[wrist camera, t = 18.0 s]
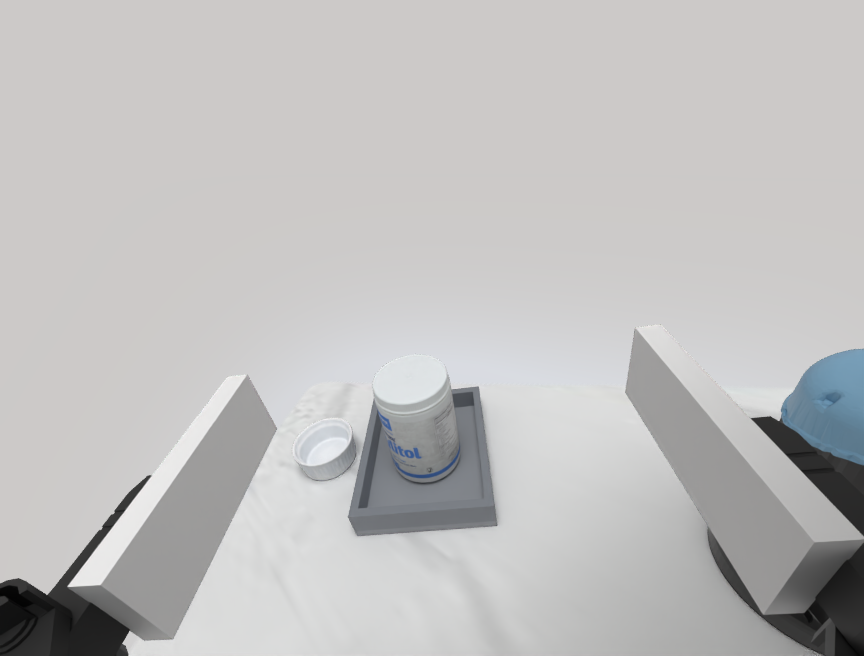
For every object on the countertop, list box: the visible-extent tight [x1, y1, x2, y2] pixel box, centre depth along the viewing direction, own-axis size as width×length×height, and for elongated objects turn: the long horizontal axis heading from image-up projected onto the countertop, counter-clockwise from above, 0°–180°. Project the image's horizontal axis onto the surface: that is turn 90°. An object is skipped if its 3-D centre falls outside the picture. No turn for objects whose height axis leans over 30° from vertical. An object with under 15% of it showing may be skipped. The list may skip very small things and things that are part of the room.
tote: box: [348, 387, 497, 536], centre depth 52 cm, size 17×20×4 cm
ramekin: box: [292, 418, 356, 480], centre depth 55 cm, size 9×9×4 cm
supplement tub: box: [372, 354, 460, 483], centre depth 48 cm, size 10×10×15 cm
